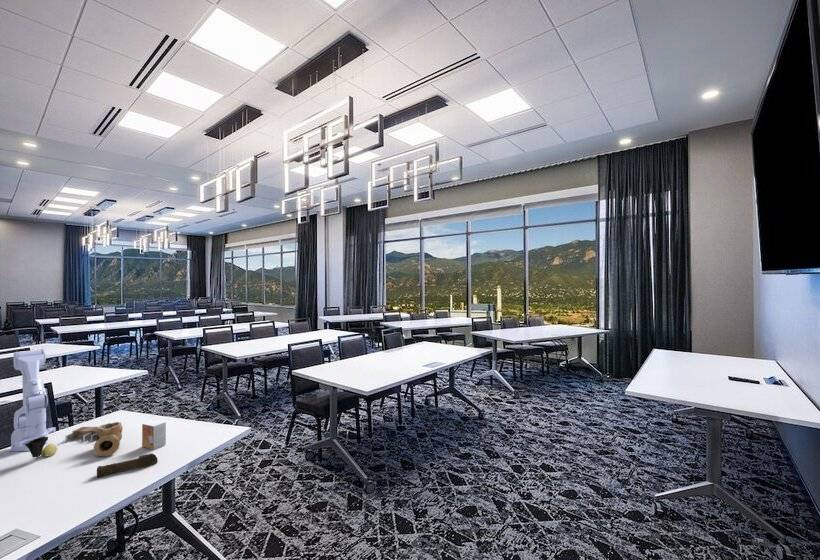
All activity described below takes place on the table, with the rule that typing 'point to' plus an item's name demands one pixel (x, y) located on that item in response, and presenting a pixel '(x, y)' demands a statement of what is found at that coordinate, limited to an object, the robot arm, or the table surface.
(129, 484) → the table surface
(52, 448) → the knob
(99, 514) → the table surface
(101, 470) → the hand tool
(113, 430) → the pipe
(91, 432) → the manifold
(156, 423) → the small box
